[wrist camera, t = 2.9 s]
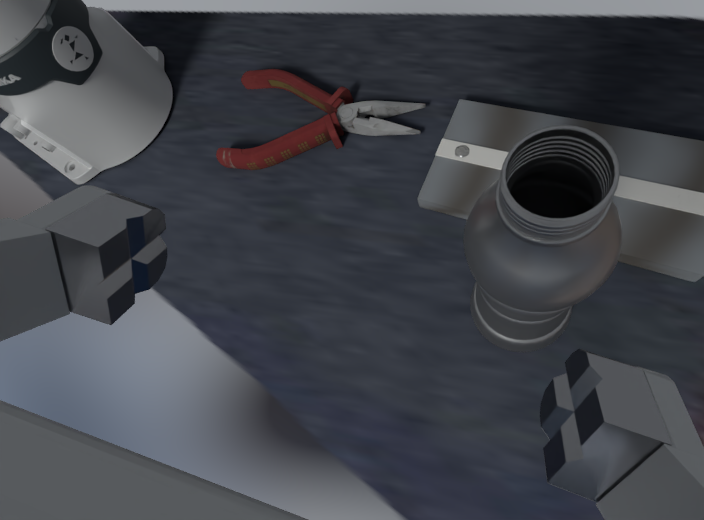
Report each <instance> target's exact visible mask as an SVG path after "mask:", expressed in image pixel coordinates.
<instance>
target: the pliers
mask: <svg viewBox="0 0 704 520" xmlns="http://www.w3.org/2000/svg"><path fill="white" fill-rule="evenodd" d="M241 82H242V84H243V85H244V86H245V87H246V88H247V89H261V88H280V89H285V90H287V91H290V92H292V93H294V94H296V95H297V96H299V97H301V98H303V99H304V100H306V101H308V102H309V103H311V104H313V105H315V106H316V107H318V108H320V109H321V110H323V111H325V112H327V113H328V115H325V116H323V118H321V119H319V120H317V121H315V122H312V123H310V124H308V125H306V126H304V127H301V128H299V129H297V130H295V131H293V132H290V133H288V134H286V135H284V136H282V137H279V138H277V139H275V140H273V141H271V142H268V143H266V144H264V145H261V146H258V147H254V148H249V149H234V148H219V149H218V150H217V154H216V156H217V159H218V161H219V162H220V163H221V164H222V165H223V166H225V167H228V168H237V169H248V170H257V169H263V168H267V167H270V166H273V165H276V164H278V163H280V162H283V161H285V160H287V159H289V158H292V157H294V156H296V155H298V154H301V153H303V152H305V151H307V150H310V149H312V148H314V147H316V146H318V145H321V144H323V143H325V142H327V141H330V140H332V141H333V143H334V145H335V147H336V149H338V148H341V147H343V145H342V143H341V140H340V136H343V135H344V132H343V130H344V131H346V132H351V133H357V134H362V135H370V136H380V135H407V134H421V132H420V131H419V130H416V129H413V128H409V127H406V126H402V125H399V124H396V123H392V122H389V121H385V120H382V119H381V118H387V117H391V116H395V115H398V114H402V113H406V112H409V111H413V110H417V109H420V108H424V107H426V106H425V104H422V103H406V102H390V101H363V102H357V103H352V102H353V98H352V96H351V93H350V91H349V90H348V89H347V88H345V87H340V88H339V89H338V90H337V91H336V92H335V93H334V94H333V95H331V94H329V93H327V92H325V91H324V90H322V89H320V88H318V87H316V86H314V85H313V84H311V83H309V82H307V81H305V80H304V79H302V78H300V77H298V76H296V75H294V74H292V73H290V72H287V71H284V70H280V69H266V70H255V71H247V72H245V73H244V74H243V76H242V78H241ZM368 115H373V116H375V118H372V117H370V119H367V118H364V117H366V116H368Z"/></svg>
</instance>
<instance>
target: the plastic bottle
mask: <svg viewBox="0 0 704 520" xmlns="http://www.w3.org/2000/svg"><path fill="white" fill-rule="evenodd" d="M619 176H620V170H619V162H618V159H617V155H616V154H615V152H614V150H613V148H612V147H611V146H610V145H609V144H608V142H607V141H606V140H605V139H603V138H602V137H601V136H599V135H598V134H596V133H594V132H592V131H590V130H588V129H585V128H582V127H578V126H571V125H554V126H549V127H544V128H541V129H538V130H536V131H533V132H531V133H530V134H528V135H526V136H524V137H523V138H522V139H521V140H519V141H518V142H517V143H516V144H515V145H514V146H513V147H512V149H511V150H510V151H509V153H508V155H507V156H506V158H505V160H504V162H503V165H502V169H501V173H500V179H498V180H496V181H495V182H494V183H493V184H492V185H491V186H489V187H488V188H487V189H486V190H485V192H484V193H483V194H482V195H481V196H480V198H479V199H478V200H477V202H476V203H475V205H474V207H473V208H472V210H471V212H470V214H469V216H468V219H467V222H466V225H465V229H464V240H463V243H464V250H465V256H466V259H467V262H468V265H469V268H470V270H471V273H472V275H473V276H474V278H475V279H476V282H475V285H474V287H473V291H472V294H471V302H470V307H471V314H472V317H473V320H474V323H475V325H476V326H477V328H478V330H479V331H480V332H481V334H482V335H483V336H484V337H485V338H486V339H487V340H489V341H490V342H491V343H493V344H494V345H496V346H498V347H500V348H502V349H506V350H509V351H514V352H530V351H535V350H538V349H542V348H544V347H546V346H548V345H550V344H551V343H553V342H554V341H555V340H556V339H557V338H559V337H560V336H561V334H562V333H563V332H564V330H565V329H566V327H567V325H568V323H569V321H570V317H571V313H572V307H573V305H575V304H577V303H578V302H580V301H582V300H584V299H586V298H587V297H588V296H589V295H591V294H592V293H593V292H594V291H596V290H597V289H598V288H599V287H600V286H601V285H603V284H604V282H605V281H606V280H607V279H608V277H609V276H610V275H611V273H612V272H613V270H614V268H615V266H616V264H617V262H618V259H619V256H620V251H621V246H622V229H621V221H620V217H619V213H618V210H617V207H616V205H615V204H614V202H613V200H612V198H613V196H614V193H615V191H616V189H617V186H618V181H619Z"/></svg>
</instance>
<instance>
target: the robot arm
mask: <svg viewBox="0 0 704 520" xmlns="http://www.w3.org/2000/svg"><path fill="white" fill-rule="evenodd" d="M172 98H173V91H172V85H171V82H170V80H169V78H168V76H167V75H166V73H165V71H164V55H163V53H162V52H161V51H160V50H159V49H158V48H157V47H154V46H148V47H143V46H142V45H141V44H140V43H139V42H138V41H137V40H136V39H135V38H134V37H133V36H132V35H131V34H130V33H129V32H128V31H127V30H126V29H125V28H124V27H123V26H122V25H121V24H120V23H119V22H117V21H116V20H115V19H114V18H113V17H112V16H111V15H110V14H109V13H108V12H107V11H106V10H104V9H102V8H95V7H86V5H85V4H84V3H83V1H82V0H0V108H2V109H3V110H5V111H7V112H8V113H9V115H8V117H6V119H4V121H3V122H2V123H1V124H0V125H1V126H0V127H2V128H3V129H5V130H6V131H8V132H9V133H11V134H13V135H14V137H15V138H16V139H17V140H19V141H20V142H21V143H23V144H24V145H25V146H27V147H28V148H29V149H30V150H32V151H33V152H34V153H36V154H37V155H38V156H40V157H41V158H42V159H44V160H45V161H46V162H48V163H49V164H50V165H52V166H53V167H54V168H56V169H57V170H58V171H60V172H61V173H62V174H64V175H65V176H66V177H68V178H69V179H70V180H72V181H73V182H74V183H76V184H83V183H85V182H87V181H89V180H90V179H91V178H93V177H94V176H96V175H97V174H98V173H99V172H101V171H103V170H105V169H107V168H110V167H113V166H116V165H119V164H121V163H123V162H125V161H127V160H129V159H131V158H132V157H134V156H135V155H137V154H138V153H139V152H141V151H142V150H143V149H144V148H145V147H146V146H147V145H148V144H149V143H150V142H151V141H152V140H153V139H154V138H155V137H156V135H157V134H158V133H159V131H160V130H161V128H162V127H163V125H164V123H165V121H166V119H167V117H168V115H169V112H170V109H171V105H172ZM165 229H166V223H165V214H164V213H163V212H162V211H161V210H160V209H158V208H155V207H152V206H149V205H147V204H144V203H141V202H138V201H135V200H133V199H130V198H127V197H124V196H121V195H119V194H116V193H112V192H109V191H107V190H104V189H101V188H98V187H95V186H84V185H83V186H81V187H79V188H77V189H75V190H73V191H72V192H70V193H68V194H66V195H64V196H62V197H60V198H58V199H56V200H54V201H53V202H51V203H49V204H47V205H45V206H43V207H41V208H39V209H37V210H35V211H33V212H32V213H30V214H28V215H26V216H24V217H22V218H20V219H18V220H14V219H11V218H4V219H0V341H3V340H5V339H8V338H10V337H13V336H15V335H18V334H20V333H23V332H25V331H28V330H30V329H33V328H35V327H38V326H41V325H43V324H46V323H48V322H50V321H53V320H56V319H58V318H61V317H63V316H66V315H68V314H70V312H73V313H76V314H79V315H82V316H85V317H88V318H91V319H94V320H97V321H100V322H103V323H106V324H109V325H112V324H113V323H114V322H115V321H116V320H117V319H118V318H119V317H120V316H121V315H123V314H124V313H125V312H126V311H127V310H128V309H129V308H130V307H131V306H132V305H133V304H134V303H135V294H136V293H139V292H143V291H146V290H149V289H150V288H151V287H152V286H153V285H154V284H155V283H156V282H157V281H158V280H159V278H160V277H161V275H162V273H163V271H164V269H165V266H166V261H167V246H166V245H165V243H164V242H163V240H162V239H161V237H160V235H161V233H162V232H163V231H164V230H165ZM565 366H566V371H567V373H566V374H564V375H561V376H558V377H555V378H553V379H552V381H551V382H550V384H549V385H548V387H547V388H546V390H545V392H544V395H543V398H542V401H541V406H540V423H541V428H542V429H543V430H544V432H545V433H546V435H547V436H548V437H549V439H550V441H549V442H548V443H547V444H546V446H545V447H544V448H543V450H544V459H545V467H546V475H547V483H549V484H552V485H554V486H557V487H559V488H562V489H564V490H567V491H570V492H572V493H575V494H577V495H580V496H582V497H585V498H587V499H590V500H593V501H595V502H598V503H597V504H596V505H597V507H598V509H599V511H600V512H601V514H602V516H603V517H604V519H605V520H704V447H703V445H702V443H701V440H700V438H699V436H698V434H697V432H696V429H695V427H694V425H693V423H692V421H691V418H690V416H689V414H688V412H687V410H686V407H685V405H684V403H683V401H682V398H681V396H680V394H679V392H678V390H677V387H676V385H675V383H674V382H673V381H672V380H671V379H670V378H669V377H668V376H667V375H663V374H660V373H657V372H654V371H650V370H647V369H644V368H640V367H634V366H631V365H628V364H625V363H622V362H619V361H616V360H613V359H610V358H606V357H603V356H600V355H597V354H594V353H591V352H588V351H585V350H582V349H578V350H576V351H575V352H573V353H572V354H571V355H570V357H569V358H568V359H567V360H566V362H565ZM0 520H308V519H305V518H302V517H300V516H297V515H295V514H292V513H290V512H287V511H284V510H282V509H279V508H277V507H274V506H271V505H269V504H266V503H264V502H261V501H259V500H256V499H253V498H251V497H248V496H246V495H243V494H241V493H238V492H235V491H233V490H230V489H228V488H225V487H222V486H220V485H217V484H215V483H212V482H210V481H207V480H204V479H202V478H200V477H197V476H194V475H192V474H189V473H187V472H184V471H181V470H179V469H176V468H174V467H171V466H169V465H166V464H163V463H161V462H158V461H155V460H153V459H150V458H148V457H145V456H143V455H140V454H138V453H135V452H132V451H130V450H127V449H124V448H122V447H120V446H117V445H114V444H112V443H109V442H106V441H104V440H101V439H99V438H96V437H94V436H91V435H89V434H86V433H83V432H81V431H78V430H76V429H73V428H70V427H68V426H65V425H63V424H60V423H57V422H55V421H52V420H50V419H47V418H45V417H42V416H39V415H37V414H34V413H32V412H29V411H27V410H24V409H21V408H19V407H16V406H14V405H11V404H8V403H6V402H3V401H0Z"/></svg>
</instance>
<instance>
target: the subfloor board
mask: <svg viewBox="0 0 704 520" xmlns="http://www.w3.org/2000/svg"><path fill="white" fill-rule="evenodd" d="M554 125H571V126H578V127H582V128H585V129H588V130H590V131H592V132H594V133H596V134H598V135H599V136H601V137H602V138H603V139H605V140H606V141H607V142H608V144H609V145H610V146H611V147H612V148H613V150H614V152H615V154H616V155H617V159H618V162H619V170H620V176H619V181H618V186H617V189H616V191H615V193H614V196H613V198H612V200H613V202H614V204H615V205H616V207H617V210H618V213H619V217H620V221H621V229H622V246H621V251H620V256H619V259H618V261H619V262H623V263H626V264H630V265H633V266H637V267H641V268H644V269H648V270H652V271H655V272H659V273H663V274H666V275H670V276H673V277H677V278H681V279H684V280H688V281H692V282H696V281H697V280H699V279H700V278H702V277H703V276H704V141H700V140H695V139H689V138H683V137H677V136H671V135H665V134H660V133H654V132H648V131H642V130H636V129H630V128H625V127H619V126H613V125H607V124H601V123H596V122H590V121H584V120H578V119H572V118H566V117H561V116H555V115H549V114H543V113H537V112H531V111H526V110H520V109H514V108H508V107H502V106H496V105H491V104H485V103H479V102H473V101H467V100H462V99H460V100H459V102H458V104H457V107H456V109H455V111H454V114H453V116H452V118H451V121H450V123H449V125H448V128H447V130H446V133H445V135H444V137H443V138H442V140H441V143H440V145H439V147H438V150H437V152H436V156H435V158H434V161H433V163H432V165H431V168H430V170H429V172H428V175H427V177H426V179H425V182H424V184H423V186H422V189H421V191H420V194H419V196H418V198H417V199H418V202H419V206H420V207H423V208H426V209H430V210H434V211H437V212H441V213H445V214H448V215H452V216H456V217H459V218H463V219H466V220H467V219H468V216H469V214H470V212H471V210H472V208H473V207H474V205H475V203H476V202H477V200H478V199H479V198H480V196H481V195H482V194H483V193H484V192H485V190H486V189H487V188H488V187H489V186H491V185H492V184H493V183H494V182H495V181H496V180H498V179H500V173H501V169H502V165H503V162H504V160H505V158H506V156H507V155H508V153H509V151H510V150H511V149H512V147H513V146H514V145H515V144H516V143H517V142H518V141H519V140H521V139H522V138H523V137H524V136H526V135H528V134H530V133H531V132H533V131H536V130H538V129H541V128H544V127H549V126H554Z"/></svg>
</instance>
